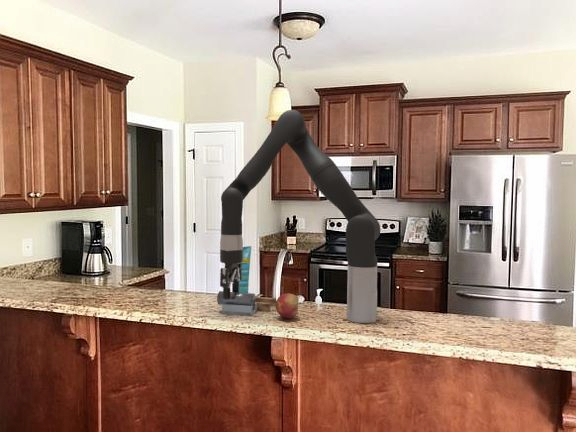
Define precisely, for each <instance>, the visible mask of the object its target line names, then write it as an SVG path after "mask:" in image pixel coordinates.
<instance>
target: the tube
mask: <svg viewBox="0 0 576 432" xmlns="http://www.w3.org/2000/svg"><path fill="white" fill-rule="evenodd" d="M251 254H252V245H250V246H249V245H247V246H243V261H242V262H241V264H242V280H240V283H239V293H249V284H250V283H249V282H250V281H249V280H250V269H251V268H250V267H251V256H252V255H251Z"/></svg>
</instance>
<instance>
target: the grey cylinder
mask: <svg viewBox="0 0 576 432" xmlns="http://www.w3.org/2000/svg"><path fill="white" fill-rule="evenodd" d="M256 297H257V296H256V294H255V293H251V292H250V293H249V292H248V293H239V292H232V291H230V299H229V300H227V299H223V291H222V290H220V291H218V293H217V297H216V302H217V305H221V306H222V305H223V304H233V305H247V306H252V307H254V306H255V302H256Z"/></svg>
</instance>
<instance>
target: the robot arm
mask: <svg viewBox="0 0 576 432" xmlns="http://www.w3.org/2000/svg"><path fill="white" fill-rule="evenodd" d="M286 144H287V145H288V146H289V147H290V149H292V151H293V152H294V153H295V154H296V156H297V157H298V158H299V160H300V162H301V163H302V165H303V167H304V169H305V171H306V173H307V174H308V176H309V177H310V179H311V181H312V182H313V184H314V185H315V186H316V188H317V189H318V191H319V192H320V193H321V194H322V195H323V196H324V198H325V199H327V200H328V201H329V202H330V203H331V204H333V206H335V207H336V208H337V209H338V210H339V212H341V213H342V215H343V216H344V218H345V220H346V221H347V224H346V227H345V254H346V259H347V287H346V289H347V291H346V293H347V294H346V298H347V299H346V320H347V321H349V322H353V323H357V324H359V323H360V324H369V323H377V319H378V317H377V316H378V314H377V313H378V257H377V255H376V251H375V250H376V247H375V246H376V245H375V243H376V240H378V238H379V237H380V236H381V224H380V222H379V221H378V219H377V218H376V216H374V214H372V212H371V211H370V210H369V209H368V208H367V207H366V205H364V203H363V202H362V200H360V199H359V197H358V195H357V194H356V192H355V191H354V190H353V187H352V186H351V185H350V183H349V181H348V180H347V178H346V177H345V176H344V173H342V172H341V170H340V169H339V167H338V165H336V163H335V162H334V161H333V160H332V158H331V157H330V156H328V155H327V154H326V153H325V152H324V151H323V150H321V149H320V148H319V146H318V145H317V144H316V142H315V141H314V139H313V137H312V136H311V134H310V132H309V130H308V129H307V125H306V122H305V119H304V116H303V115H302V113H301V112H300V111H298V110H296V109H288V110H286V111H284V112H282V114H280V116H279V118H278V119H277V120H276V122H275V124H274V125H273V127H272V129H271V130H270V132H269V134H268V136H267V137H266V138H265V139H264V141H263V142H262V144H261V146H259V148H258V150H257V151H256V152H255V153H254V155H253V156H252V157H251V158H250V160H249V161H248V162H247V163H246V164H245V165H244V167H242V169H241V170H240V172H239V173H238V175H237V176H236V178H235V179H234V180H233V181H232V182H231V183H230V184H229V185H228V186H227V187H226V188H225V189H224V191H222V193H221V196H220V201H221V222H220V223H221V224H220V239H219V240H220V241H219V246H220V247H219V262H220V263H222V264H224V268H223V267H221V268H220V270H219V271H220V272H219V275H220V276H219V285H220V286H219V287H220V288H222V290H223V299H227V300H229V299H230V292H239V283H240V280H242V264H241V262H242V261H243V247H244V240H243V239H244V238H243V209H244V200H245V199H246V197H247V196H248V194H250V192H251V191H252V190H254V189H255V188H256V186H257V185H258V184H259V183H260V182H261V181H262V180H263V179H264V177H265V176H266V175H267V173H268V172H269V171H270V169H271V168H272V165H273V163H274V161H275V159H276V157H277V156H278V154H279V153H280V151H281V150H282V148H283V147H284V146H285V145H286ZM231 286H232V288H231Z"/></svg>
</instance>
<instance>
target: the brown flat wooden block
mask: <svg viewBox="0 0 576 432" xmlns="http://www.w3.org/2000/svg"><path fill="white" fill-rule="evenodd" d="M276 301H277V298H274V297H259V296H258V297H257V296H256V303H257V312H258V311H260V312H261V311H262V312H271V311H272V309H271V308H272V307H276V306H275V304H276Z"/></svg>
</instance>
